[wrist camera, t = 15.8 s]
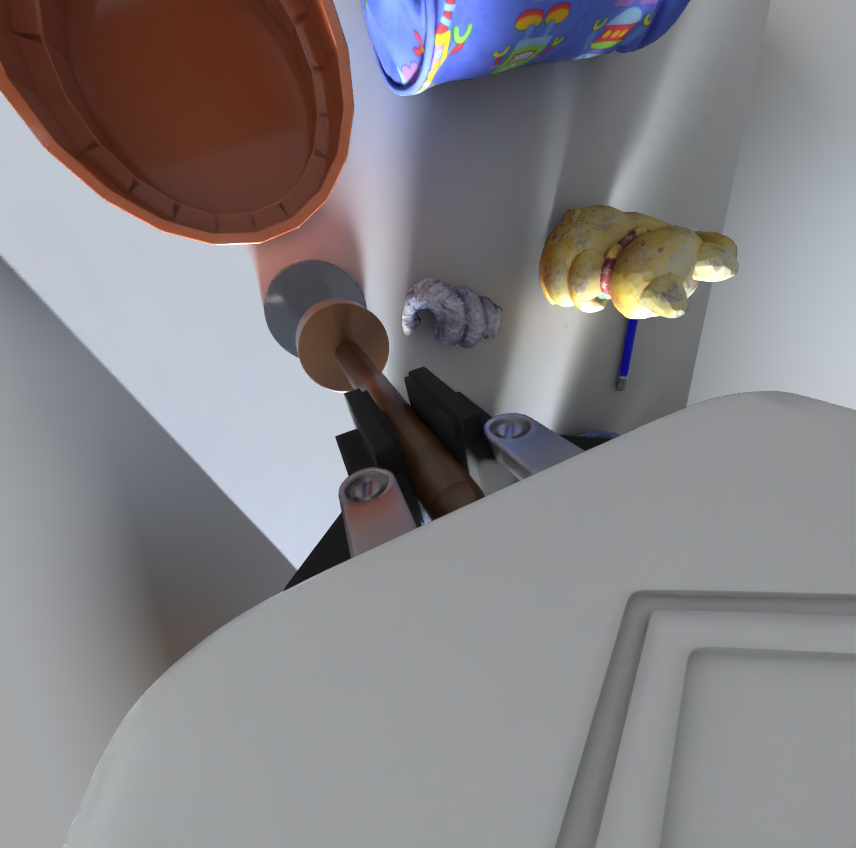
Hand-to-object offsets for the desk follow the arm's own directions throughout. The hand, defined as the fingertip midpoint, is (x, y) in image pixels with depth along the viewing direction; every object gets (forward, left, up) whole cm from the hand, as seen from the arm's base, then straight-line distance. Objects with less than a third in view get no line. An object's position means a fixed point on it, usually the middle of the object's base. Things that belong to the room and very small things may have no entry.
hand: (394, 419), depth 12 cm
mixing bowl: (-11, +8, -21) cm, 25 cm away
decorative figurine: (+18, +17, -21) cm, 32 cm away
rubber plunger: (0, 0, -11) cm, 11 cm away
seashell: (+10, +6, -21) cm, 24 cm away
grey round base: (0, 0, -21) cm, 21 cm away
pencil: (+33, +17, -21) cm, 42 cm away
